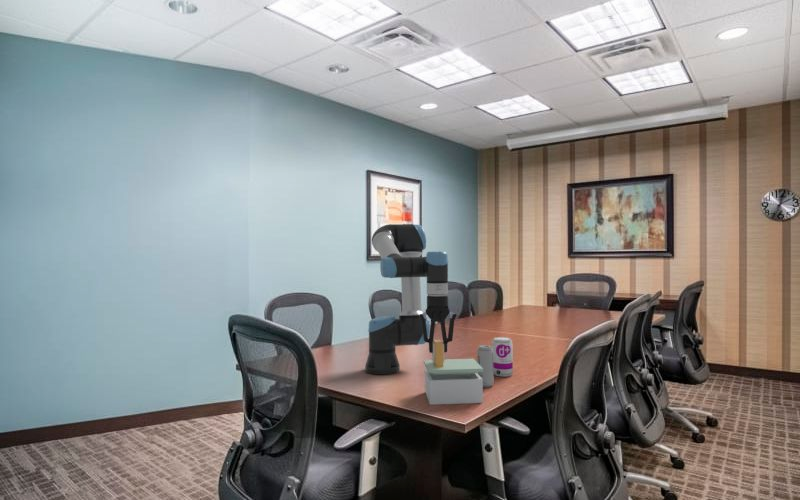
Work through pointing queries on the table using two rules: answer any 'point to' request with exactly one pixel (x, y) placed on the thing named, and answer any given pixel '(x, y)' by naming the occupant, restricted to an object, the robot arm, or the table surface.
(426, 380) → the tub
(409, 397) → the table surface
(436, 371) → the lid
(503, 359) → the supplement can
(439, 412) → the table surface
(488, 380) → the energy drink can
